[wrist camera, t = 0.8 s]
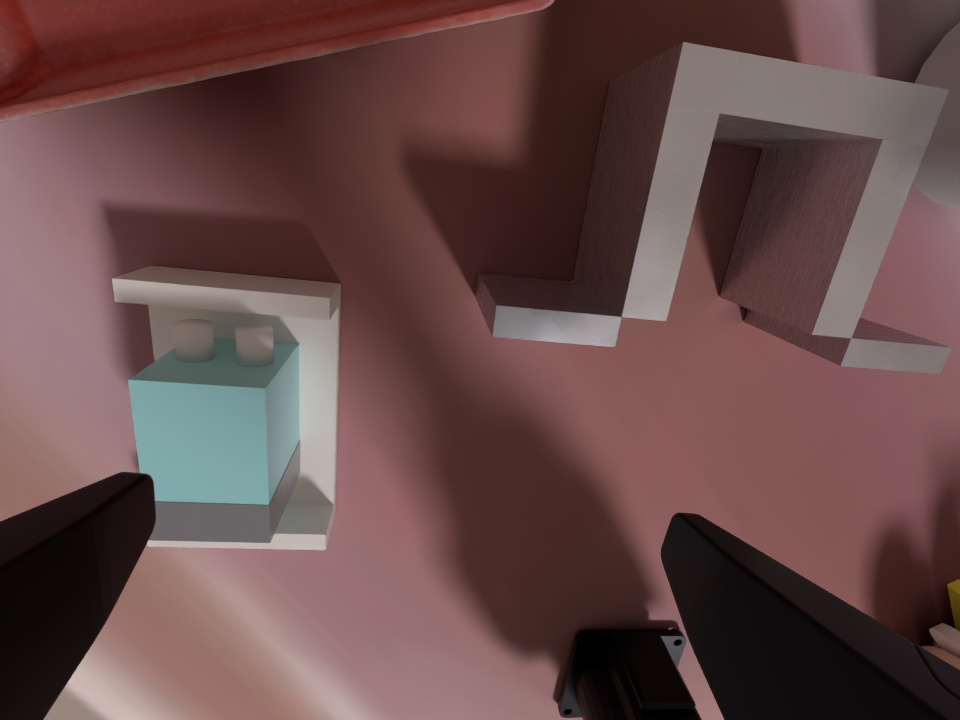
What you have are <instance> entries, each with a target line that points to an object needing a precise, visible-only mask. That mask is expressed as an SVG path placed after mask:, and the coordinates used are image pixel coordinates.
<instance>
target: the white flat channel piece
mask: <svg viewBox="0 0 960 720" xmlns="http://www.w3.org/2000/svg"><path fill="white" fill-rule="evenodd" d="M112 283H113V291H114V298H115V302H122V303H134V304H146V305H148V309H149V318H150V327H151V336H152V345H153V354H154V362H155V361H156V360H158V359H159V358H161V357H162V356H163V355H165V354H166V353H168V352H169V351H171V350H172V349H174V348H175V346H174V335H173V323H174V322H176V321H180V320H185V319H203V320H208V321H211V322H212V323H213V332H214V337H217V338H230V339H236V334H235V328H236V327H238V326H240V325H245V324H264V325H268V326H271V327H272V328H273V342H282V343H295V344H299V417H300V474H299V476H298V479H297V481H296V483H295V486H294V488H293V491H292V493H291V495H290V498H289V500H288V502H287V505H286V507H285V510H284V512H283V514H282V517H281V519H280V521H279V524H278V526H277V528H276V531H275V533H274V536H273V538H272V540H271V543H245V542H199V541H153V540H148V542H147V544H148V546H149V547H198V548H248V549H297V550H326V547H327V543H328V539H329V535H330V531H331V528H332V524H333V520H334V516H335V510H336V469H337V428H338V388H339V347H340V306H341V284H340V283H330V282H319V281H309V280H298V279H288V278H277V277H267V276H256V275H245V274H235V273H224V272H214V271H203V270H193V269H182V268H172V267H161V266H148V267H145V268H142V269H139V270H136V271H133V272H130V273H127V274H124V275H121V276H117V277H114V278H112Z"/></svg>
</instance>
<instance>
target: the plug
mask: <svg viewBox="0 0 960 720" xmlns="http://www.w3.org/2000/svg"><path fill="white" fill-rule="evenodd" d="M235 334H236V339H230V338H217V337H214V332H213V323H212V322H211V321H208V320H203V319H185V320H180V321H176V322H174V323H173V335H174V346H175V348H174V349H172V350H171V351H169V352H168V353H166V354H165V355H163V356H162V357H161V358H159V359H158V360H156V361H155V362H153V363H152V364H150V365H149V366H147V367H146V368H144V369H143V370H141V371H140V372H138V373H137V374H136V375H134V376H133V377H131V378H130V379H128V385H129V392H130V400H131V408H132V416H133V423H134V431H135V439H136V447H137V454H138V462H139V470H140V473H146V474H149V475H150V476H151V477H152V479H153V482H154V493H155V507H156V523H155V527H154V530H153V532H152V534H151V536H150V538H149V540H153V541H199V542H245V543H271V540H272V538H273V536H274V533H275V531H276V528H277V526H278V524H279V521H280V519H281V517H282V514H283V512H284V510H285V507H286V505H287V502H288V500H289V498H290V495H291V493H292V491H293V488H294V486H295V483H296V481H297V479H298V476H299V474H300V417H299V344H295V343H282V342H273V328H272V327H271V326H268V325H264V324H245V325H240V326H238V327H236V328H235Z"/></svg>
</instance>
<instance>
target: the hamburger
mask: <svg viewBox="0 0 960 720" xmlns="http://www.w3.org/2000/svg"><path fill="white" fill-rule="evenodd" d="M947 587H948V592H949V597H950V603H951V608H952V613H953V619H954V624H955V629H954V628H953V627H951V626H949V625H947V624H944V623H941V624H939V625H937V626H935V627H932V628H930V629H929V631H930V634H931V636H932V637H933V639H934V640H935V641H936V643H937V644H938V645H939V646H935V647H933V646H922V648H924V649H925V650H927V651H929V652H930V653H932V654H934V655H935V656H937V657H939V658H940V659H942V660H944V661H945V662H947V663H949V664H951V665H952V666H954V667H956V668H957V669H959V670H960V580H959V579H958V580H956V581H954V582H951V583H949V584H947Z"/></svg>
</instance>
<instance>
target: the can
mask: <svg viewBox="0 0 960 720" xmlns="http://www.w3.org/2000/svg"><path fill="white" fill-rule="evenodd" d="M915 84H920V85H926V86H932V87H937V88H943V89H948V90H949V92H948V94H947V97H946V100H945V102H944V105H943V107H942V110H941V112H940V115H939V117H938V120H937V122H936V125H935V127H934V130H933V133H932V135H931V138H930V140H929V143H928V145H927V148H926V150H925V153H924V155H923V158H922V160H921V163H920V166H919V168H918V171H917V173H916V176H915V178H914V181H913V185H914V187H915V188H916V189H917V190H918V191H920V192H921V193H922V194H923V195H924V196H925V197H927V198H928V199H929V200H930V201H931V202H933V203H936V204H940V205H944V206H947V207H951V208H955V209H960V23H958V24H957V25H956V26H955V27H954V28H953V29H951V30H950V31H949V32H948V33H947V34H946V35H945V36H944V38H943V39H942V40H941V42H940V43H939V44H938V46H937V47H936V48H935V50H934V51H933V52H932V54H931V55H930V56H929V58H928V59H927V60H926V62H925V63H924V64H923V66H922V68H921V70H920V73H919V75H918V77H917V79H916V81H915Z"/></svg>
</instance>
